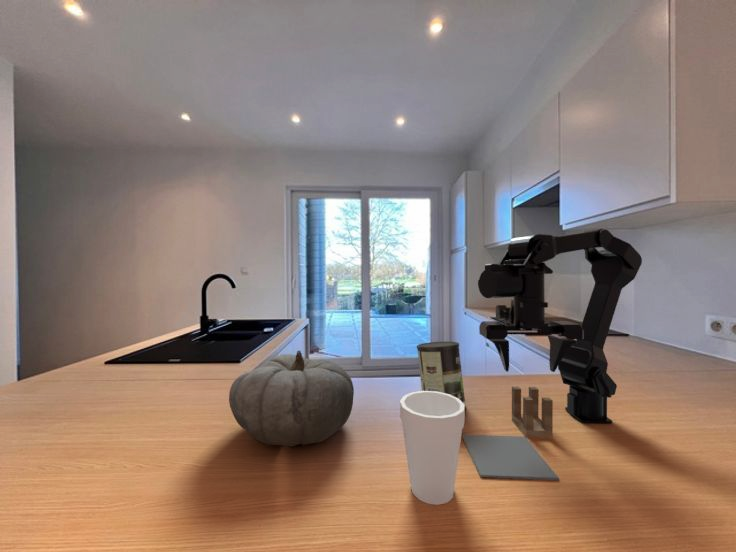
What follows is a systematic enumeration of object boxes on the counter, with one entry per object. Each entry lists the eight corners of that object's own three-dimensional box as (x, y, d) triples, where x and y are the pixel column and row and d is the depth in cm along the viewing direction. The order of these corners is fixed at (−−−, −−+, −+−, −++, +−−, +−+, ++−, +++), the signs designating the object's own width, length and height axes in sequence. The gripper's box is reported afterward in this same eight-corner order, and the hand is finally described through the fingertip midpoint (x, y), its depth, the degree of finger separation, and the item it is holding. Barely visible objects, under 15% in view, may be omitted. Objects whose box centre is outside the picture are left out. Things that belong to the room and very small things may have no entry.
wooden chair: (511, 420, 67) (511, 386, 67) (535, 421, 67) (535, 386, 67) (526, 437, 60) (526, 399, 60) (552, 438, 60) (552, 400, 60)
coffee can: (463, 395, 79) (456, 340, 80) (468, 409, 68) (461, 345, 70) (422, 397, 80) (417, 342, 82) (421, 410, 70) (415, 348, 72)
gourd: (208, 467, 47) (224, 352, 50) (234, 420, 71) (243, 343, 74) (365, 459, 53) (370, 356, 56) (340, 418, 77) (345, 347, 80)
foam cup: (396, 470, 50) (395, 391, 50) (450, 466, 51) (450, 389, 51) (408, 516, 41) (408, 419, 41) (475, 511, 42) (475, 416, 41)
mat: (524, 438, 60) (524, 436, 60) (558, 480, 48) (558, 477, 48) (462, 436, 60) (462, 434, 60) (480, 477, 48) (480, 474, 48)
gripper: (554, 292, 71) (555, 360, 71) (472, 293, 72) (473, 359, 72) (585, 297, 60) (585, 376, 60) (487, 298, 61) (487, 376, 61)
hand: (529, 371), depth 64 cm, fingers open, 9 cm apart
